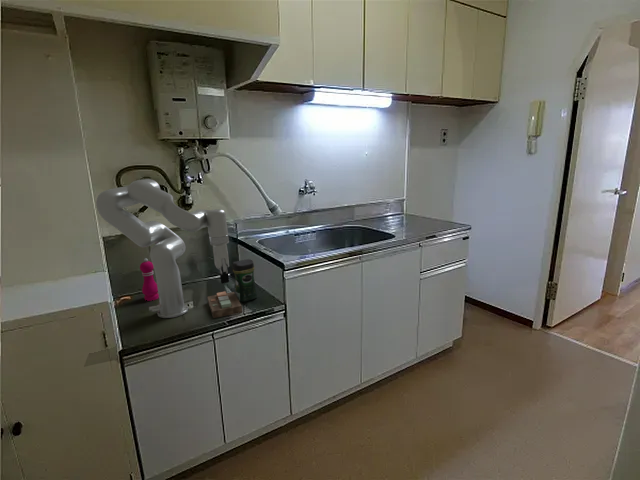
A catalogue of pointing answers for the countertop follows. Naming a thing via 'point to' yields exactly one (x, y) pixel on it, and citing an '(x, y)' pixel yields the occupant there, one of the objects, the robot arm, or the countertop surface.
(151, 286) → the pepper mill
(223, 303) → the sage key
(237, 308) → the keypad
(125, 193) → the robot arm
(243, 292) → the coffee jar
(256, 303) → the countertop surface
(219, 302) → the grey key
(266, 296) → the countertop surface
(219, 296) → the terracotta key
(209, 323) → the countertop surface
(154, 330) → the countertop surface
